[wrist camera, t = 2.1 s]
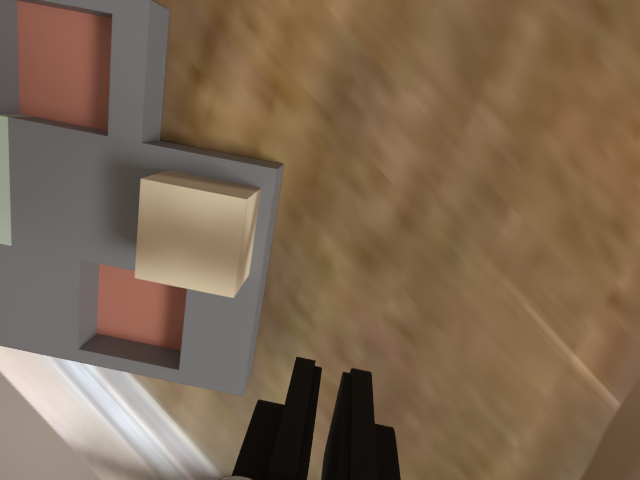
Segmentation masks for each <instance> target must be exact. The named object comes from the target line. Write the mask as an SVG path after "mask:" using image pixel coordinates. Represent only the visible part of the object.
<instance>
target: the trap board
mask: <svg viewBox="0 0 640 480" xmlns="http://www.w3.org/2000/svg"><path fill="white" fill-rule="evenodd" d="M169 12H170V11H169V10H167V9H166V8H164V7H162V6H160V5H159V4H157V3H155V2H153V1H151V0H0V346H4V347H8V348H13V349H18V350H23V351H28V352H32V353H37V354H42V355H47V356H52V357H56V358H61V359H66V360H71V361H76V362H80V363H85V364H90V365H95V366H100V367H104V368H109V369H114V370H119V371H124V372H128V373H133V374H138V375H143V376H148V377H153V378H157V379H162V380H167V381H172V382H177V383H181V384H186V385H191V386H196V387H201V388H205V389H210V390H215V391H220V392H225V393H229V394H234V395H239V396H243V394H244V392H245V389H246V387H247V384H248V382H249V379H250V377H251V373H252V367H253V360H254V354H255V348H256V341H257V335H258V329H259V322H260V316H261V309H262V303H263V297H264V290H265V284H266V277H267V271H268V265H269V258H270V252H271V245H272V239H273V233H274V226H275V220H276V213H277V207H278V201H279V194H280V188H281V181H282V175H283V169H284V164H279V163H274V162H269V161H263V160H258V159H253V158H248V157H243V156H238V155H232V154H227V153H222V152H217V151H212V150H207V149H202V148H196V147H191V146H186V145H181V144H176V143H171V142H165V141H160V137H161V123H162V109H163V95H164V81H165V68H166V54H167V40H168V26H169ZM168 170H171V171H176V172H181V173H186V174H192V175H197V176H202V177H207V178H212V179H217V180H222V181H227V182H233V183H238V184H243V185H248V186H253V187H258V188H261V194H260V201H259V208H258V215H257V222H256V229H255V236H254V243H253V250H252V257H251V264H250V271H249V276H248V277H247V279H246V280H245V282H244V283H243V285H242V286H241V288H240V289H239V291H238V292H237V294H236V295H235V297H234V298H230V297H226V296H221V295H216V294H211V293H206V292H201V291H196V290H191V289H186V288H181V287H176V286H171V285H166V284H161V283H156V282H151V281H147V280H142V279H137V278H135V263H136V247H137V230H138V214H139V197H140V181H141V178H144V177H148V176H151V175H154V174H158V173H161V172H165V171H168Z"/></svg>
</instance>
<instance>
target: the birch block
mask: <svg viewBox="0 0 640 480" xmlns="http://www.w3.org/2000/svg"><path fill="white" fill-rule="evenodd" d="M260 194H261V188H258V187H253V186H248V185H243V184H238V183H233V182H227V181H222V180H217V179H212V178H207V177H202V176H197V175H192V174H186V173H181V172H176V171H171V170H168V171H165V172H161V173H158V174H154V175H151V176H148V177H144V178H141V181H140V197H139V214H138V230H137V247H136V263H135V278H137V279H142V280H147V281H151V282H156V283H161V284H166V285H171V286H176V287H181V288H186V289H191V290H196V291H201V292H206V293H211V294H216V295H221V296H226V297H230V298H234V297H235V295H236V294H237V292H238V291H239V289H240V288H241V286H242V285H243V283H244V282H245V280H246V279H247V277H248V276H249V271H250V264H251V257H252V250H253V243H254V236H255V229H256V222H257V215H258V208H259V201H260Z"/></svg>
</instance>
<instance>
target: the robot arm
mask: <svg viewBox="0 0 640 480" xmlns="http://www.w3.org/2000/svg"><path fill="white" fill-rule="evenodd" d="M321 372H322V367H317V366H315V360H310V359H305V358H300V357H296V361H295V365H294V369H293V373H292V377H291V381H290V385H289V389H288V393H287V397H286V401H285V405H283V404H278V403H273V402H268V401H263V400H258V401H257V404H256V407H255V409H254V412H253V415H252V418H251V421H250V424H249V427H248V430H247V433H246V436H245V439H244V441H243V444H242V447H241V450H240V453H239V456H238V459H237V462H236V465H235V468H234V470H233V473H232V476H231V477H225V478H222V479H219V480H307V475H308V469H309V462H310V454H311V447H312V439H313V432H314V424H315V417H316V409H317V402H318V395H319V387H320V380H321ZM321 480H401V478H400V470H399V462H398V454H397V446H396V437H395V431H394V428H393V427H388V426H384V425H379V424H375V421H374V405H373V388H372V374H371V372H369V371H364V370H359V369H354V368H352V369H351V371H350V373H347V372H343V374H342V378H341V382H340V387H339V391H338V395H337V400H336V404H335V409H334V413H333V417H332V422H331V426H330V431H329V435H328V439H327V444H326V448H325V453H324V459H323V467H322V478H321Z"/></svg>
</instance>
